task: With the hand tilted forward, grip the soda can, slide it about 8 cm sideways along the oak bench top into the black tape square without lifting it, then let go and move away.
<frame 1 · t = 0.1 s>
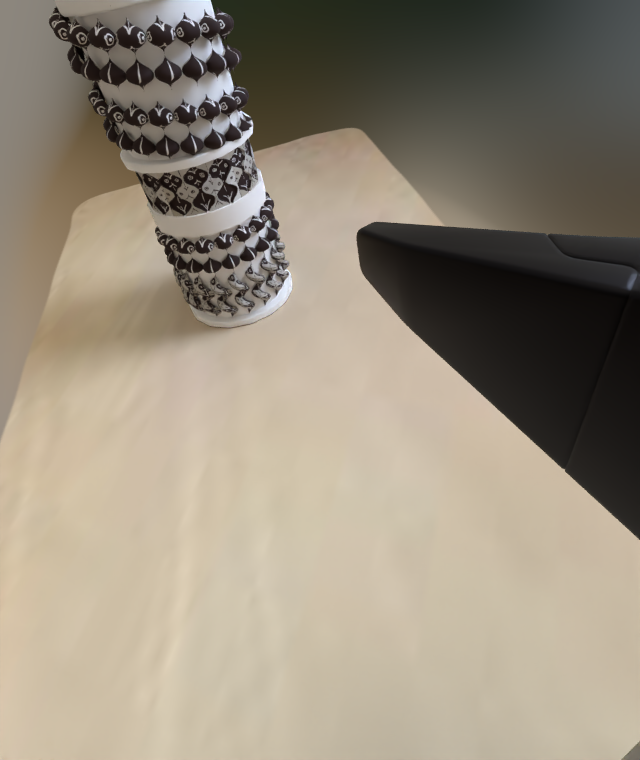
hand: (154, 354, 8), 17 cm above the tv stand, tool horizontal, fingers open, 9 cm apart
white and grey cylinder: (241, 294, 38), on the tv stand
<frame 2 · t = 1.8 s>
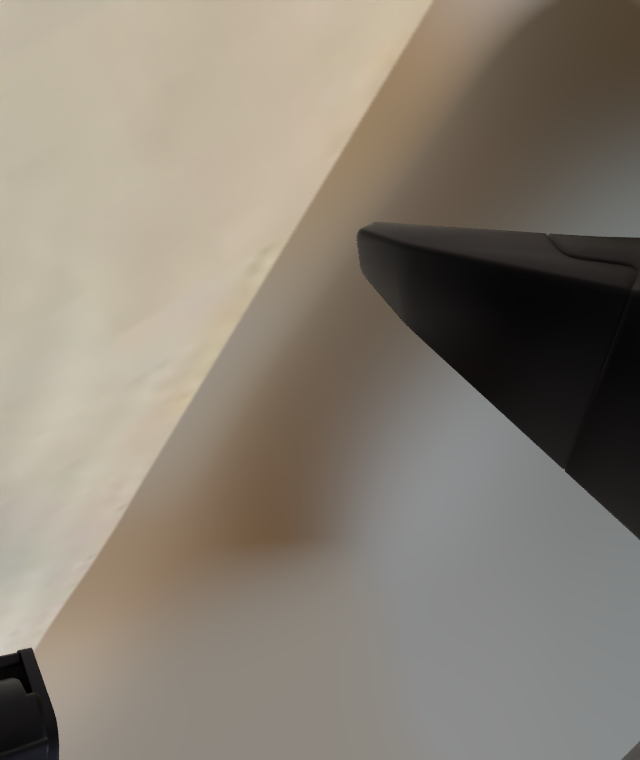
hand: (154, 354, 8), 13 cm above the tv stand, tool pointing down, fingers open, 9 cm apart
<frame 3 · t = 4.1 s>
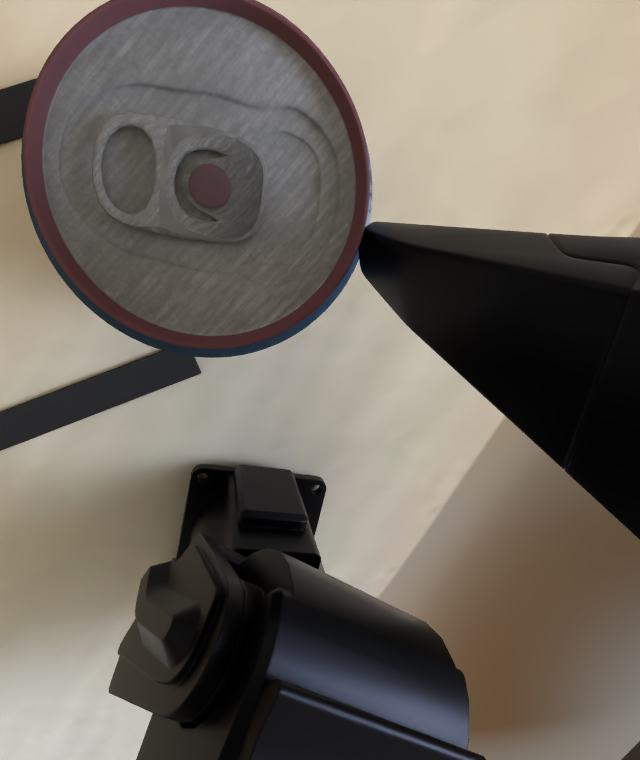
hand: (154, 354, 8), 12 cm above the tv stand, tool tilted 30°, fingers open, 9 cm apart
tape square: (16, 281, 19), on the tv stand
soda can: (211, 213, 19), on the tv stand, touching gripper
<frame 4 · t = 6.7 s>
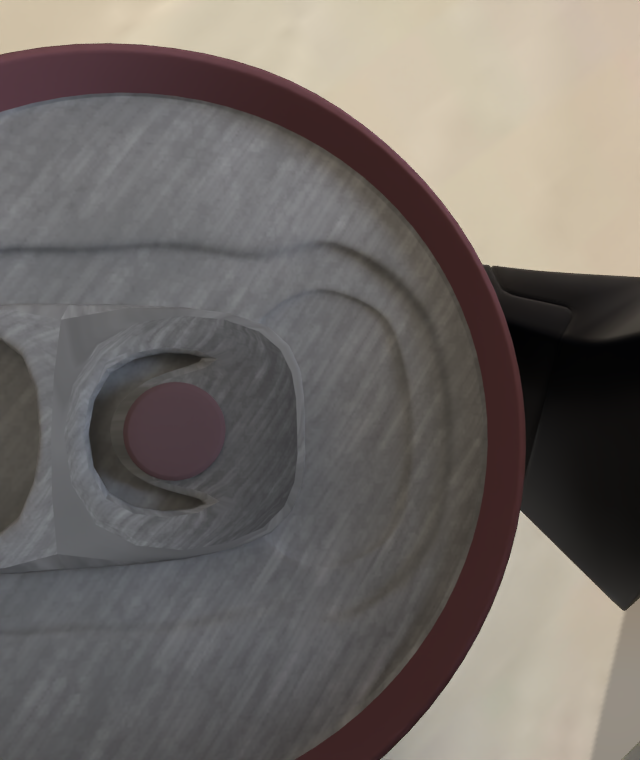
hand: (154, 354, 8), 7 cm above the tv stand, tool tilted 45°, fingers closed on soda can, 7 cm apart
soda can: (194, 422, 15), on the tv stand, touching gripper
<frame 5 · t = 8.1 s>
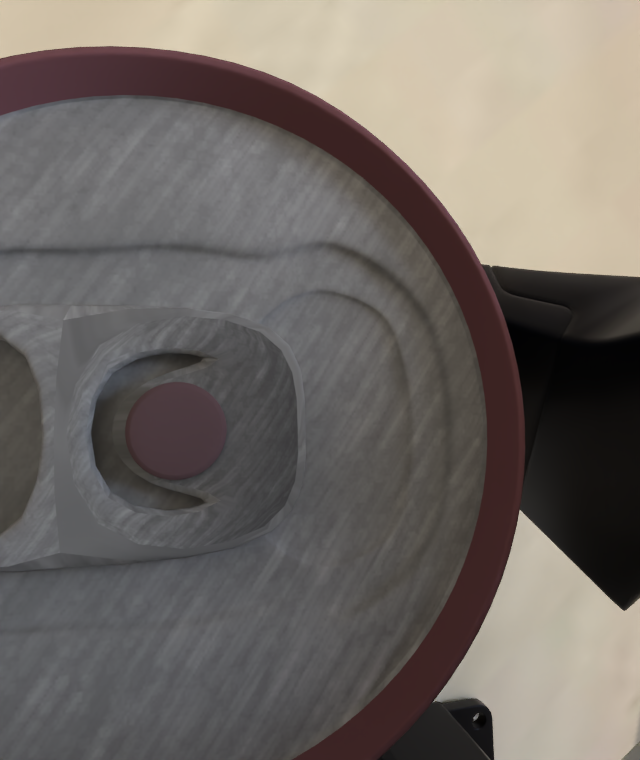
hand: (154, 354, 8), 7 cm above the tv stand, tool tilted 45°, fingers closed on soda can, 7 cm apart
soda can: (195, 422, 15), on the tv stand, touching gripper
when the fingers open (7 cm above the tv stand, at t = 9.9 s): soda can stays where it is, on the tv stand.
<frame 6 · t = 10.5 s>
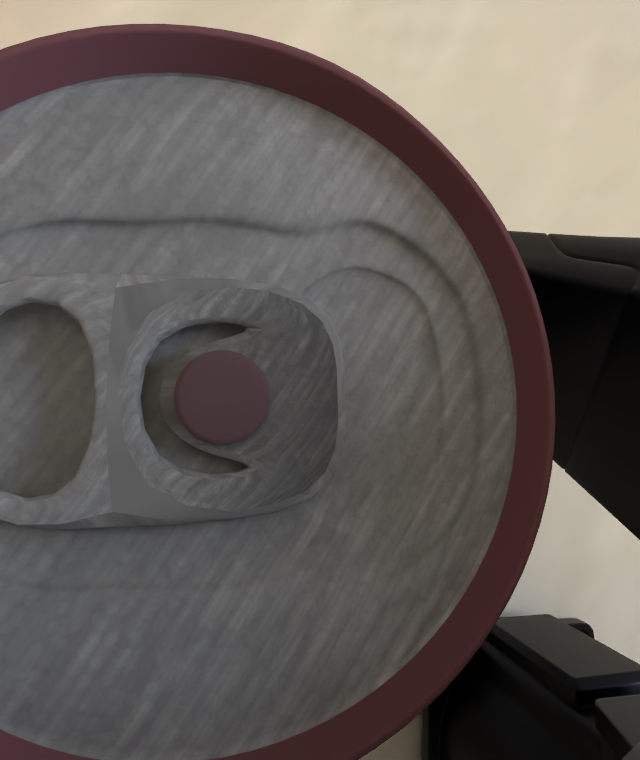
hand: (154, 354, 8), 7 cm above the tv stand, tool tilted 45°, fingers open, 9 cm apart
soda can: (204, 415, 15), on the tv stand
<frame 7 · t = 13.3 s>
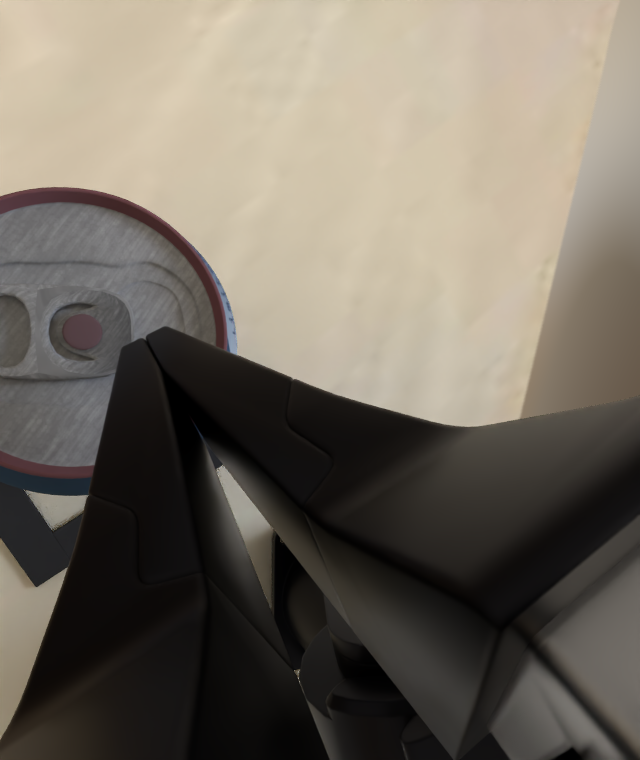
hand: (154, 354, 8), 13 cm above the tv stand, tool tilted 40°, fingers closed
tape square: (97, 380, 20), on the tv stand
soda can: (104, 375, 21), on the tv stand
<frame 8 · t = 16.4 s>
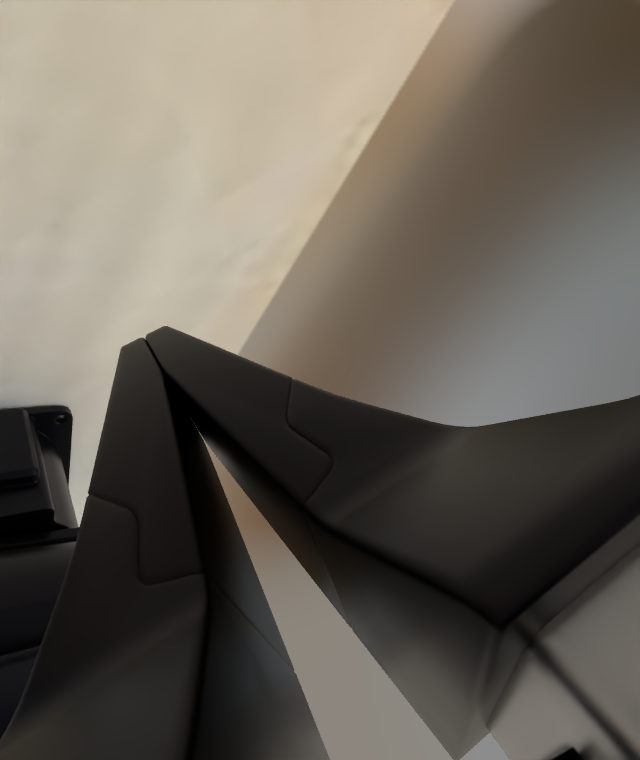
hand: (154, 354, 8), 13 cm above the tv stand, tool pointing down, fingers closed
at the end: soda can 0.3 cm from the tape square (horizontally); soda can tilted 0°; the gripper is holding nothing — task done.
